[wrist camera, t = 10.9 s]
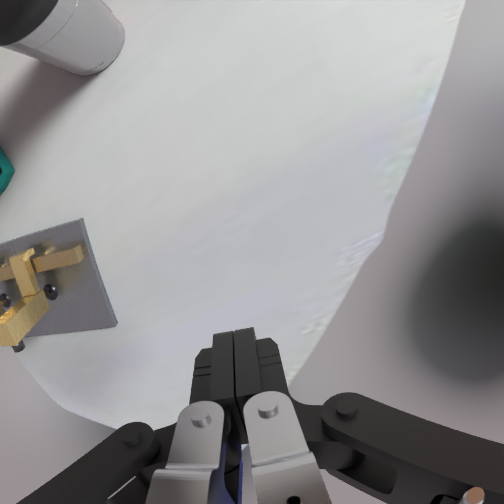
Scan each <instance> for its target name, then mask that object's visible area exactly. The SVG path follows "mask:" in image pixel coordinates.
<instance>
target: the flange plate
mask: <svg viewBox="0 0 504 504" xmlns="http://www.w3.org/2000/svg"><path fill="white" fill-rule="evenodd" d="M78 243H83V246H84V250H85V253H86V256H87V257H86V258H84V259H83V260H82V261H81V262H80V263H77V264H73V265H68V266H64V267H59V268H55V269H51V270H46V271H42V272H38V273H34V274H35V277H36V279H37V282H38V285H39V287H40V289H43V290H44V291H45V292H47V294H48V296H47V297H46V298H47V300H48V303H49V305H50V309H49V310H48V311H47V312H46V313H45V314H44V315H43V317H42V318H41V319H40V320H39V321H38V322H37V323H36V324H35V325H34V326H33V327H32V329H31V330H30V331H29V332H28V333H27V334H26V335H25V336H24V337H27V336H38V335H48V334H58V333H68V332H76V331H85V330H93V329H102V328H109V327H116V325H117V323H118V322H117V319H116V317H115V314H114V311H113V309H112V306H111V304H110V301H109V298H108V296H107V293H106V290H105V287H104V284H103V282H102V279H101V276H100V273H99V270H98V267H97V264H96V261H95V258H94V254H93V251H92V248H91V245H90V241H89V238H88V235H87V231H86V228H85V224H84V220H83V218H82V219H78V220H75V221H71V222H68V223H64V224H61V225H57V226H54V227H51V228H48V229H44V230H41V231H38V232H35V233H32V234H28V235H25V236H22V237H19V238H16V239H13V240H10V241H7V242H4V243H1V244H0V265H1V264H4V263H8V262H10V260H9V258H10V257H12V256H13V255H15V254H17V253H18V252H20V251H23V250H26V249H30V248H33V249H34V252H35V253H34V254H32V255H31V256H33V255H36V254H40V253H44V252H48V251H51V250H55V249H59V248H63V247H67V246H71V245H75V244H78ZM21 298H22V294H21V292H20V289H19V286H18V284H17V281H16V279H15V278H12V279H8V280H4V281H0V300H2V299H6V301H7V303H6V304H5V305H4V306H3V307H4V310H5V312H7V311H8V310H9V309H10V308H11V307H12V306H13V305H14V304H15V303H17V302H18V301H19V300H20V299H21Z"/></svg>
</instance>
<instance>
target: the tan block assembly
mask: <svg viewBox="0 0 504 504" xmlns="http://www.w3.org/2000/svg"><path fill="white" fill-rule="evenodd" d="M86 257H87V256H86V253H85V250H84V246H83V243H78V244H75V245H71V246H67V247H63V248H59V249H55V250H51V251H48V252H44V253H40V254H36V255H33V256H29V259H30V262H31V265H32V268H33V271H34V273H38V272H42V271H46V270H51V269H55V268H59V267H64V266H68V265H73V264H77V263H80V262H81V261H82V260H83V259H84V258H86ZM12 278H15V276H14V273H13V270H12V268H11V265H10V262H8V263H4V264H1V265H0V281H4V280H8V279H12ZM6 303H7V301H6V299H2V300H0V317H1V316H2V315H3V314H4V313H5V310H4V307H3V306H4V305H5V304H6Z"/></svg>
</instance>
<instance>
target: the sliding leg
mask: <svg viewBox="0 0 504 504" xmlns="http://www.w3.org/2000/svg"><path fill="white" fill-rule="evenodd" d="M34 253H35V252H34V249H33V248H30V249H26V250H23V251H20V252H18V253H17V254H15V255H13V256H12V257H10V258H9V260H10V265H11V268H12V270H13V273H14V276H15V279H16V281H17V284H18V286H19V289H20V292H21V294H22V298H21V299H20V300H19V301H18V302H17V303H15V304H14V305H13V306H12V307H11V308H10V309H9V310H8V311H7V312H5V313H4V314H3V315H2V316H1V317H0V344H1V346H12V348H13V350H14V352H20V351H22V350H23V349H24V348H25V345H24V343H23V341H22V339H23V337H24V336H25V335H26V334H27V333H28V332H29V331H30V330H31V329H32V327H33V326H34V325H35V324H36V323H37V322H38V321H39V320H40V319H41V318H42V317H43V315H44V314H45V313H46V312H47V311H48V310H49V309H50V305H49V303H48V300H47V298H46V297H47V296H48V294H47V292H45V291H44V290H43V289H40V287H39V285H38V282H37V279H36V277H35V274H34V271H33V268H32V265H31V262H30V259H29V256H31V255H32V254H34Z"/></svg>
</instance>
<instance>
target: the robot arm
mask: <svg viewBox="0 0 504 504" xmlns="http://www.w3.org/2000/svg"><path fill="white" fill-rule="evenodd" d="M124 37H125V34H124V28H123V26H122V24H121V23H120V21H119V20H118V19H117V18H116V17H115V16H114V15H113V14H112V11H111V10H110V9H109V7H108V6H107V5H106V4H105V3H104V2H103V1H102V0H0V47H3V48H7V49H9V50H12V51H16V52H19V53H21V54H24V55H27V56H30V57H33V58H35V59H38V60H41V61H43V62H46V63H49V64H51V65H54V66H56V67H59V68H61V69H64V70H67V71H69V72H72V73H74V74H77V75H82V76H86V75H92V74H96V73H98V72H100V71H102V70H103V69H105V68H106V67H108V66H109V65H110V64H111V63H112V62H113V61H114V60H115V58H116V57H117V56H118V54H119V53H120V51H121V49H122V46H123V43H124ZM248 443H249V446H250V451H251V457H252V463H253V465H252V474H253V480H254V485H255V491H256V496H257V501H258V504H332V502H331V499H330V497H329V494H328V491H327V489H326V486H325V484H324V481H323V478H322V475H321V473H320V470H319V469H326V471H327V472H328V473H330V474H331V475H333V476H335V477H336V478H338V479H340V480H342V481H344V482H345V483H347V484H349V485H351V486H353V487H355V488H357V489H359V490H361V491H363V492H365V493H367V494H369V495H371V496H373V497H375V498H377V499H379V500H381V501H383V502H385V503H388V504H504V444H501V443H497V442H494V441H490V440H487V439H483V438H480V437H477V436H473V435H470V434H467V433H464V432H461V431H458V430H454V429H451V428H448V427H445V426H442V425H440V424H436V423H434V422H431V421H428V420H425V419H422V418H419V417H417V416H414V415H411V414H409V413H406V412H403V411H400V410H398V409H395V408H393V407H390V406H388V405H385V404H383V403H380V402H378V401H375V400H372V399H370V398H368V397H365V396H363V395H360V394H357V393H349V392H348V393H340V394H337V395H335V396H332V397H331V398H329V399H328V400H327V401H326V402H325V403H324V405H322V406H321V405H306V404H302V403H299V402H297V401H296V400H294V399H293V398H292V397H291V396H290V394H289V392H288V388H287V383H286V379H285V375H284V371H283V366H282V362H281V358H280V353H279V349H278V345H277V344H276V343H275V342H274V341H273V340H272V339H271V338H265V339H259V340H256V336H255V331H254V327H251V328H246V329H240V330H235V331H234V332H233V331H229V332H223V333H217V334H214V335H213V345H212V348H206V349H202V350H201V351H200V353H199V354H198V355H197V357H196V358H195V365H194V372H193V380H192V387H191V395H190V403H189V406H187V407H186V408H184V409H183V410H182V412H181V413H180V415H179V417H178V421H177V422H176V423H174V424H172V425H170V426H167V427H164V428H161V429H157V430H154V431H153V429H152V428H151V427H150V426H149V425H147V424H146V423H142V422H132V423H128V424H125V425H123V426H122V427H120V428H119V429H118V430H116V431H115V432H114V433H112V434H111V435H110V436H109V437H108V438H106V439H105V440H103V441H102V442H101V443H100V444H98V445H97V446H96V447H94V448H93V449H92V450H90V451H89V452H88V453H87V454H85V455H84V456H82V457H81V458H80V459H78V460H77V461H76V462H74V463H73V464H72V465H70V466H69V467H68V468H66V469H65V470H64V471H62V472H61V473H59V474H58V475H57V476H55V477H54V478H52V479H51V480H50V481H48V482H47V483H45V484H44V485H43V486H41V487H40V488H38V489H37V490H35V491H34V492H33V493H31V494H30V495H28V496H27V497H25V498H24V499H22V500H21V501H19V502H18V503H17V504H242V482H243V460H242V450H241V444H248ZM134 476H136V478H134V479H133V480H132V481H131V482H130V483H128V484H127V485H126V486H125V487H124V488H122V489H121V490H120V491H119V492H117V493H116V494H115V495H114V496H112V497H111V498H109V499H108V497H109V496H111V495H112V494H113V493H114V492H116V491H117V490H118V489H119V488H120V487H122V486H123V485H124V484H125V483H126V482H128V481H129V480H130V479H131V478H133V477H134Z"/></svg>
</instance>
